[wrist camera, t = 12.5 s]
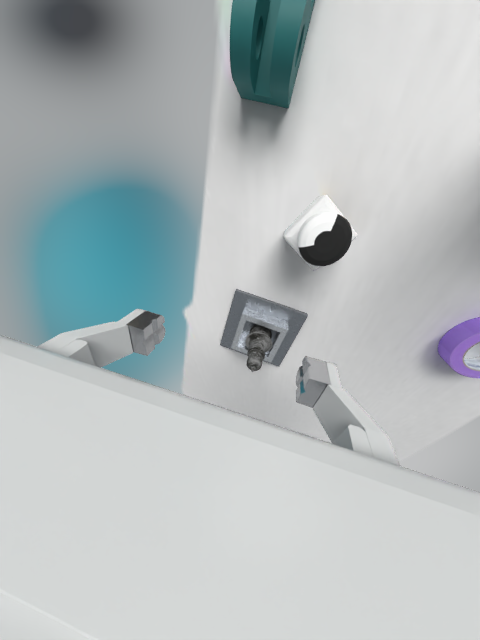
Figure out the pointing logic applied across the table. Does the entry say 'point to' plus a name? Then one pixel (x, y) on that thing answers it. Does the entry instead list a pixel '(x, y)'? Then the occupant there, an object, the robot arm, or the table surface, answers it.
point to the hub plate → (266, 314)
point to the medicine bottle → (320, 233)
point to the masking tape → (461, 348)
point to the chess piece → (258, 346)
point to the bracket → (268, 47)
